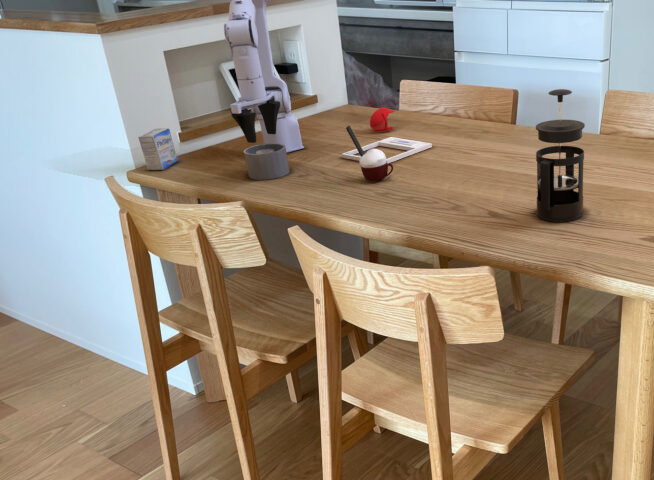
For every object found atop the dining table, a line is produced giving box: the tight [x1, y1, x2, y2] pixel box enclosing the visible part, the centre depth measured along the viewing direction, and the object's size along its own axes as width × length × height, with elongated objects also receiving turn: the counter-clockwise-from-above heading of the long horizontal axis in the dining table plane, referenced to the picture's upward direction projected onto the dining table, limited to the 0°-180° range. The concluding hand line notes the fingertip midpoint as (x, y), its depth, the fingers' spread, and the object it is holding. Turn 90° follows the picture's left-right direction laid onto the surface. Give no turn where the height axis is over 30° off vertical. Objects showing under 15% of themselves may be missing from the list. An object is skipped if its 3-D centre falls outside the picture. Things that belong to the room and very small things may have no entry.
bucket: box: [243, 143, 291, 181], centre depth 182 cm, size 10×10×6 cm
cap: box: [369, 107, 395, 133], centre depth 212 cm, size 8×6×6 cm
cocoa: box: [345, 125, 394, 182], centre depth 171 cm, size 10×6×12 cm, turn 50°
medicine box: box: [137, 127, 179, 171], centre depth 194 cm, size 8×4×9 cm, turn 168°
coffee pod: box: [256, 149, 274, 154], centre depth 182 cm, size 4×4×5 cm
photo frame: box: [341, 136, 433, 164], centre depth 193 cm, size 15×1×18 cm
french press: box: [535, 88, 586, 223], centre depth 141 cm, size 12×9×23 cm
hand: (262, 138), depth 179 cm, fingers open, 7 cm apart
